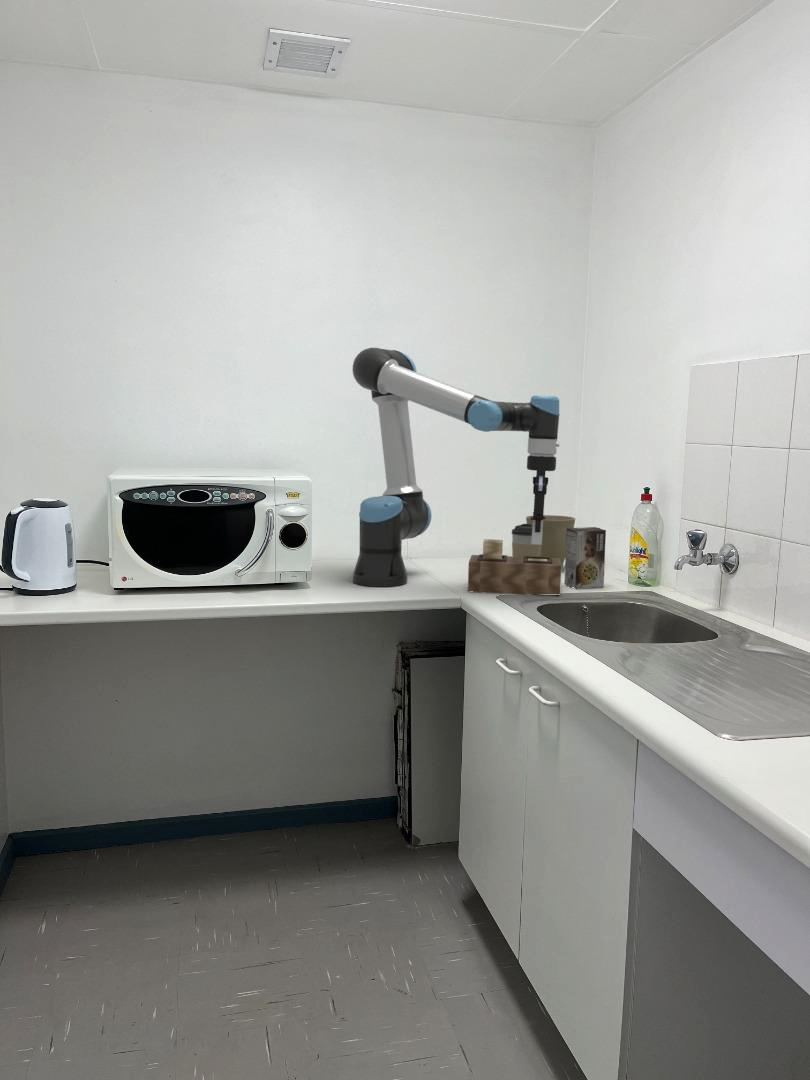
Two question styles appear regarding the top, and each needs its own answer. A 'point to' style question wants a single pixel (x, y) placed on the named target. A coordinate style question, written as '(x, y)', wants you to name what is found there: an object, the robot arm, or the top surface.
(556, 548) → the plant pot
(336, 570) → the top surface
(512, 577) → the walnut block
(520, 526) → the coffee cup
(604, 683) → the top surface
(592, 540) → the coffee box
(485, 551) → the dowel
